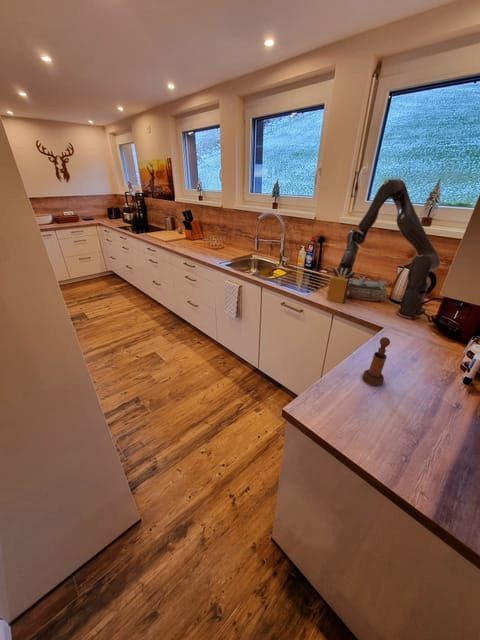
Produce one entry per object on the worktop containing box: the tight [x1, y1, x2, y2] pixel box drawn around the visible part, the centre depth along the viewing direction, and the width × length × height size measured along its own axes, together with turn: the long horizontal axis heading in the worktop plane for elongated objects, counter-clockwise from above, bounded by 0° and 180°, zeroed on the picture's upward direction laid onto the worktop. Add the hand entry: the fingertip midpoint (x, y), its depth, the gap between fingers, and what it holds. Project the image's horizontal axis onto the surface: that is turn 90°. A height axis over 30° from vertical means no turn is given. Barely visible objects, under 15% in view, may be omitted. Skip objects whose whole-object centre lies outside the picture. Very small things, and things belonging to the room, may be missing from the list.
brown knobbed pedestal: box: [362, 336, 391, 387], centre depth 91 cm, size 7×6×18 cm
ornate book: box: [345, 274, 390, 303], centre depth 163 cm, size 23×10×30 cm
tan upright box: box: [326, 275, 350, 304], centre depth 154 cm, size 10×3×14 cm, turn 58°
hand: (339, 285), depth 154 cm, fingers closed
